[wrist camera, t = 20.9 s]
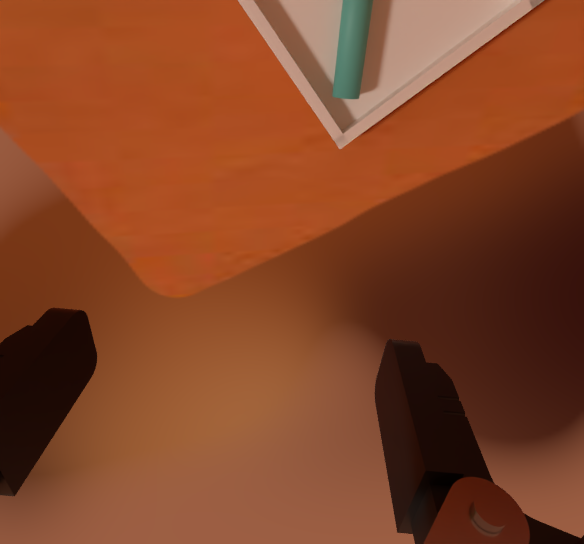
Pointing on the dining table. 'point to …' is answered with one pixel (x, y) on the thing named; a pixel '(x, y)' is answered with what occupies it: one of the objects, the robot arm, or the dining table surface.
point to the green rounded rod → (351, 48)
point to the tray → (377, 50)
